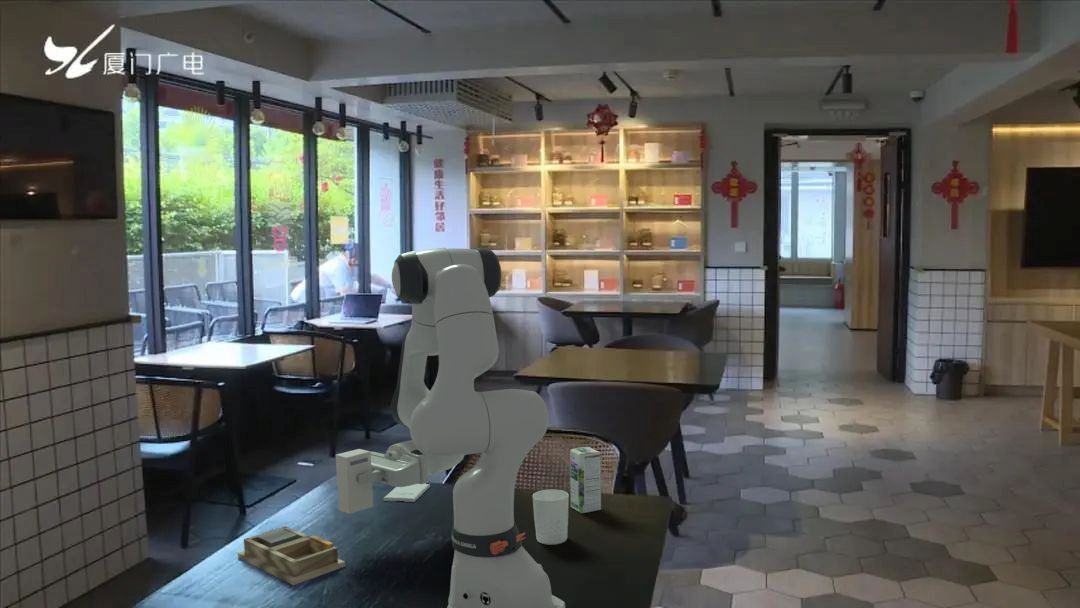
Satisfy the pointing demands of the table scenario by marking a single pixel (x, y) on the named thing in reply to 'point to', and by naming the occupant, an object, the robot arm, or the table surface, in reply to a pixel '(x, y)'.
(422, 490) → the external hard drive
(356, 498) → the white carton
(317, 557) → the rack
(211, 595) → the table surface
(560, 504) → the white cup
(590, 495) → the syrup box
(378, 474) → the robot arm
